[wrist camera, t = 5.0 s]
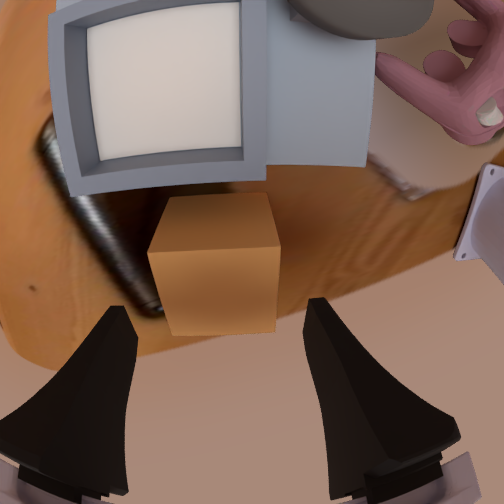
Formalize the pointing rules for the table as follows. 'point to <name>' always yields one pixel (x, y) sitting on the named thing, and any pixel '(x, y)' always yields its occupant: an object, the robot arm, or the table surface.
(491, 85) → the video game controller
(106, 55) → the chassis
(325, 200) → the table surface
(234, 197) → the orange cube
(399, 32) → the wheel
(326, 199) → the table surface
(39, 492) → the robot arm
